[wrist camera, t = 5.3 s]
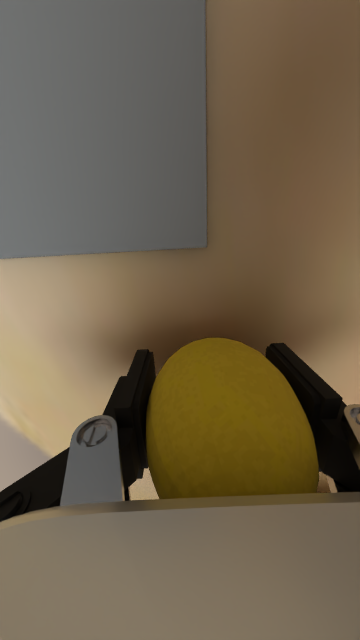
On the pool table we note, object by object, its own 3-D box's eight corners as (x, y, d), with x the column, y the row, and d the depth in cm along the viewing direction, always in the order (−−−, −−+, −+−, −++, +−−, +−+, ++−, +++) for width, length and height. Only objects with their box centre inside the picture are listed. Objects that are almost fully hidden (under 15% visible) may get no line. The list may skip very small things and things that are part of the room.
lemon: (276, 353, 11) (463, 562, 4) (209, 414, 13) (252, 650, 5) (202, 291, 10) (265, 420, 3) (138, 366, 12) (62, 584, 4)
